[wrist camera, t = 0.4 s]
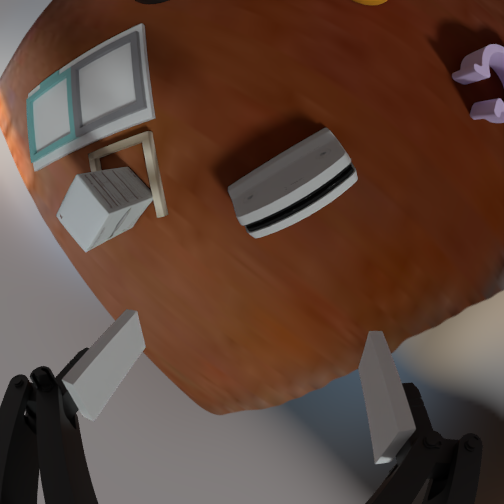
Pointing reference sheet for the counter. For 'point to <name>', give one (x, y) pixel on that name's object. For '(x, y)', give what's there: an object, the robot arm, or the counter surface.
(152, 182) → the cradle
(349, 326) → the counter surface
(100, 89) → the pocket plate
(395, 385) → the robot arm
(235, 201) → the gray curved slotted casing
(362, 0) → the beer bottle
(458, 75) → the clip
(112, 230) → the supplement box
